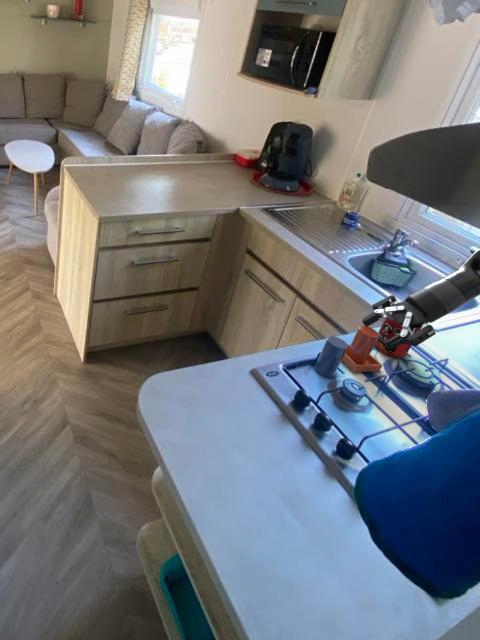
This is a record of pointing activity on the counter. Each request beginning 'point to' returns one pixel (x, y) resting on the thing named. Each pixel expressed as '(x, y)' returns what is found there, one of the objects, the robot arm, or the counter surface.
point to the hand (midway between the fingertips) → (374, 334)
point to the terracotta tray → (370, 365)
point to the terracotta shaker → (362, 345)
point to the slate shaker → (331, 356)
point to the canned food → (389, 331)
